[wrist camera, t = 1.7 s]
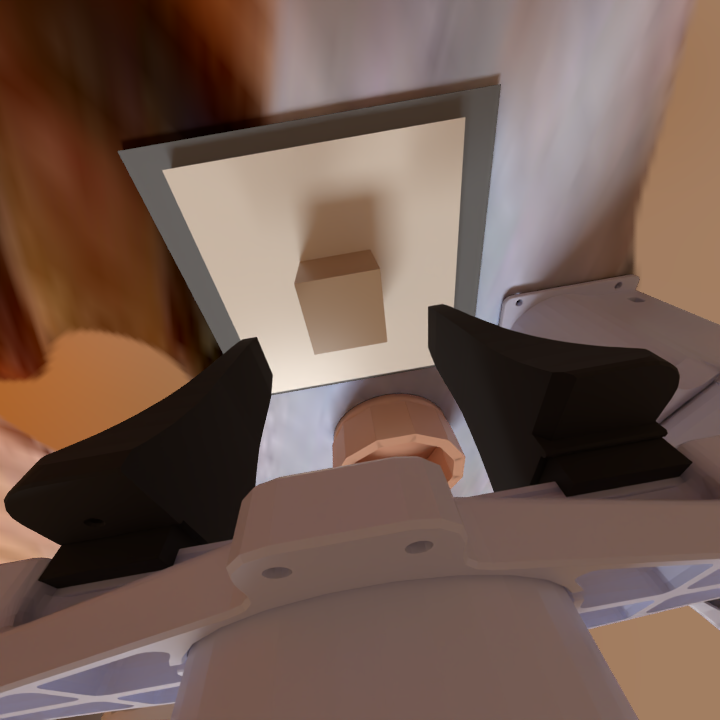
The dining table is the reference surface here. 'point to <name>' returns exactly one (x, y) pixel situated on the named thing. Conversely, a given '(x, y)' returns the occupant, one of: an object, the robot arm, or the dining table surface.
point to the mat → (469, 104)
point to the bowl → (398, 434)
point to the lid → (332, 247)
